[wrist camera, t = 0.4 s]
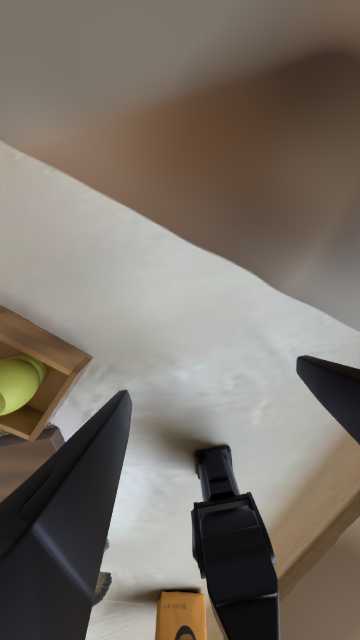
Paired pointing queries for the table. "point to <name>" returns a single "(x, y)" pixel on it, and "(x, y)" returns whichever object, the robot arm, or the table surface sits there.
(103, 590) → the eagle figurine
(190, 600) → the coffee package
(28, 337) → the wooden tray
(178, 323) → the table surface
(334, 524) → the table surface
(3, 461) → the walnut board
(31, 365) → the pear
